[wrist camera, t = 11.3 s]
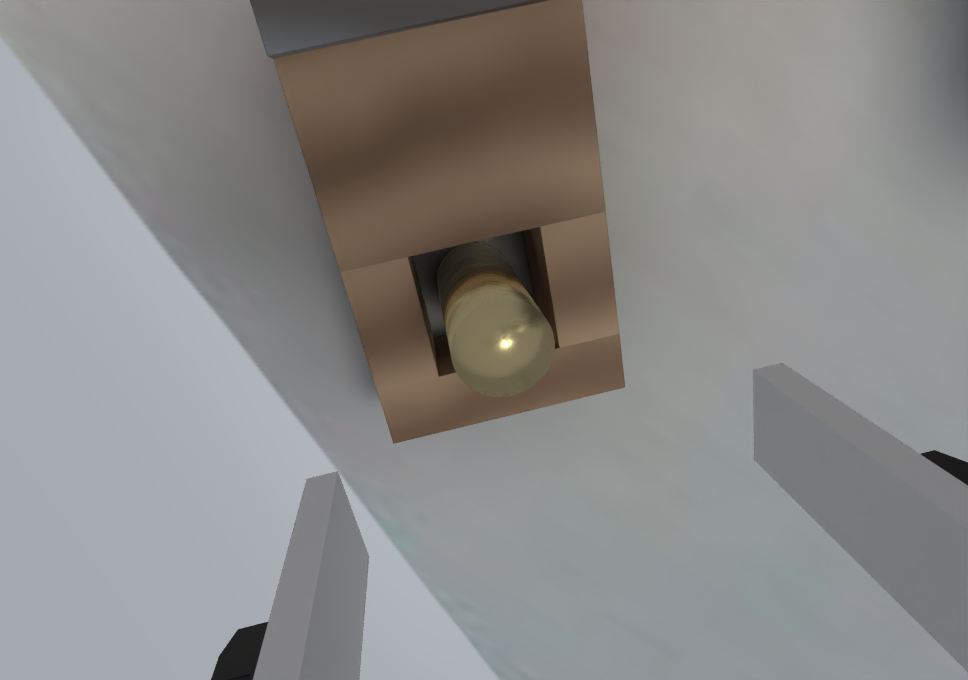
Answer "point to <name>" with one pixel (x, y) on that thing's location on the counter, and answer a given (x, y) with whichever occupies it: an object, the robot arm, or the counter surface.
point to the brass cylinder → (492, 322)
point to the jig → (453, 179)
